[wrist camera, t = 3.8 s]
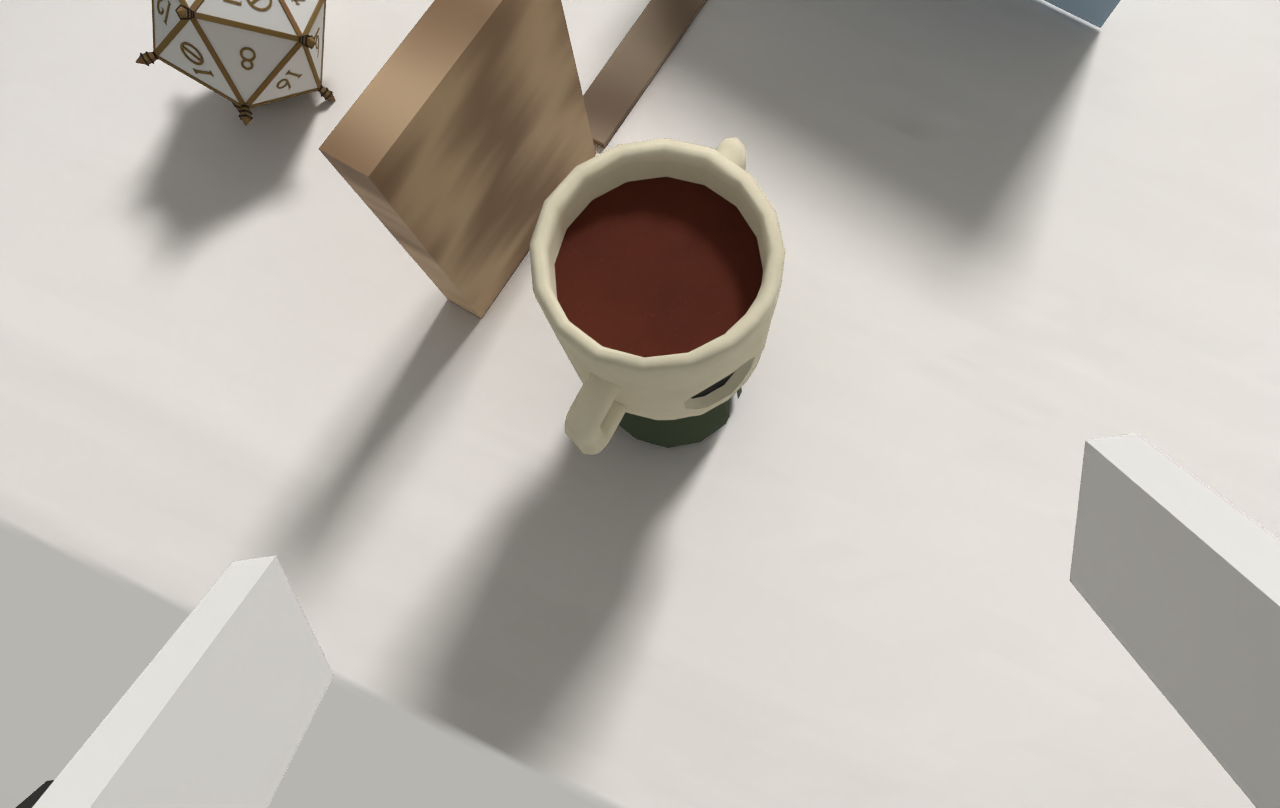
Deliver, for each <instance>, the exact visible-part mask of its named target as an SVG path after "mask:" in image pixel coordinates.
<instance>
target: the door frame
mask: <svg viewBox="0 0 1280 808" xmlns="http://www.w3.org/2000/svg"><path fill="white" fill-rule="evenodd" d="M706 1H707V0H651V1H650V3H649V4H648V5H647V7H646V8H645V10H644V11H643V12H642V14H641V15H640V17H639V18H638V19H637V21H636V22H635V24H634V25H633V26H632V28H631V29H630V31H629V32H628V33H627V35H626V36H625V38H624V39H623V40H622V42H621V43H620V45H619V46H618V48H617V49H616V50H615V52H614V53H613V55H612V56H611V57H610V59H609V60H608V62H607V63H606V64H605V66H604V67H603V69H602V70H601V71H600V73H599V74H598V76H597V77H596V78H595V80H594V81H593V83H592V84H591V85H590V87H589V88H588V90H587V91H586V92H585V94H584V95H583V94H582V90H581V86H580V81H579V77H578V73H577V68H576V64H575V59H574V55H573V51H572V46H571V42H570V38H569V33H568V29H567V24H566V20H565V16H564V11H563V7H562V2H561V0H435V1H434V2H433V3H432V4H431V6H430V7H429V8H428V10H427V11H426V12H425V13H424V15H423V16H422V17H421V19H420V20H419V21H418V22H417V24H416V25H415V26H414V27H413V29H412V30H411V31H410V33H409V34H408V35H407V36H406V38H405V39H404V40H403V42H402V43H401V44H400V45H399V47H398V48H397V49H396V51H395V52H394V53H393V54H392V56H391V57H390V58H389V59H388V61H387V62H386V63H385V65H384V66H383V67H382V68H381V70H380V71H379V72H378V74H377V75H376V76H375V77H374V79H373V80H372V81H371V82H370V84H369V85H368V86H367V88H366V89H365V90H364V91H363V93H362V94H361V95H360V97H359V98H358V99H357V100H356V102H355V103H354V104H353V105H352V107H351V108H350V109H349V111H348V112H347V113H346V114H345V116H344V117H343V118H342V120H341V121H340V122H339V123H338V125H337V126H336V127H335V128H334V130H333V131H332V132H331V134H330V135H329V136H328V137H327V139H326V140H325V141H324V143H323V144H322V145H321V146H320V148H319V150H320V151H321V152H322V153H323V155H324V156H325V157H326V158H327V159H328V160H329V162H330V163H331V164H332V165H333V166H334V167H335V169H336V170H337V171H338V172H339V173H340V174H341V176H342V177H343V178H344V179H345V180H346V181H347V183H348V184H349V185H350V186H351V187H352V188H353V190H354V191H355V192H356V193H357V194H358V195H359V197H360V198H361V199H362V200H363V201H364V202H365V203H366V205H367V206H368V207H369V208H370V209H371V210H372V212H373V213H374V214H375V215H376V216H377V217H378V219H379V220H380V221H381V222H382V223H383V224H384V226H385V227H386V228H387V229H388V230H389V231H390V233H391V234H392V235H393V236H394V237H395V238H396V240H397V241H398V242H399V243H400V244H401V245H402V246H403V248H404V249H405V250H406V251H407V252H408V253H409V255H410V256H411V257H412V258H413V259H414V260H415V262H416V263H417V264H418V265H419V266H420V267H421V269H422V270H423V271H424V272H425V273H426V274H427V276H428V277H429V278H430V279H431V280H432V281H433V283H434V284H435V285H436V286H437V287H438V288H439V290H440V291H441V292H442V293H443V294H444V295H445V296H446V298H447V299H449V300H450V301H452V302H454V303H456V304H457V305H459V306H461V307H462V308H464V309H466V310H467V311H469V312H471V313H473V314H474V315H476V316H478V317H479V318H481V319H482V317H483V316H484V314H485V313H486V311H487V310H488V309H489V307H490V306H491V304H492V303H493V301H494V300H495V298H496V297H497V296H498V294H499V293H500V291H501V290H502V288H503V287H504V286H505V284H506V283H507V281H508V280H509V278H510V277H511V275H512V274H513V273H514V271H515V270H516V268H517V267H518V265H519V264H520V262H521V261H522V260H523V258H524V257H525V255H526V254H527V252H528V251H529V250H530V245H529V244H530V241H531V238H532V235H533V232H534V229H535V227H536V224H537V221H538V218H539V215H540V212H541V209H542V207H543V204H544V201H545V200H546V199H547V198H548V196H549V195H550V194H551V193H552V192H553V191H554V190H555V189H556V188H557V187H558V185H559V184H560V183H561V182H562V181H563V180H564V179H565V178H566V177H567V176H568V175H569V173H570V172H571V171H572V170H573V169H574V168H575V167H576V166H578V165H580V164H582V163H583V162H585V161H587V160H589V159H591V158H593V157H594V156H595V154H596V151H595V147H594V143H593V142H595V143H597V144H599V145H601V146H603V147H606V145H607V144H608V142H609V141H610V140H611V138H612V137H613V135H614V134H615V132H616V131H617V129H618V128H619V127H620V125H621V124H622V122H623V121H624V119H625V118H626V116H627V115H628V114H629V112H630V111H631V109H632V108H633V106H634V105H635V103H636V102H637V101H638V99H639V98H640V96H641V95H642V93H643V92H644V90H645V89H646V88H647V86H648V85H649V83H650V82H651V80H652V79H653V77H654V76H655V75H656V73H657V72H658V70H659V69H660V67H661V66H662V64H663V63H664V62H665V60H666V59H667V57H668V56H669V54H670V53H671V51H672V50H673V49H674V47H675V46H676V44H677V43H678V41H679V40H680V39H681V37H682V36H683V34H684V33H685V31H686V30H687V28H688V27H689V26H690V24H691V23H692V21H693V20H694V18H695V17H696V15H697V14H698V13H699V11H700V10H701V8H702V7H703V5H704V4H705V2H706Z"/></svg>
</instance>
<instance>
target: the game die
mask: <svg viewBox="0 0 1280 808" xmlns="http://www.w3.org/2000/svg"><path fill="white" fill-rule="evenodd" d="M325 9H326V0H152V20H153V48H154V51H153V52H145V53H144V54H142V53H140V56H139V58H138V59H137V61H136V63H141V64H146V65H148V66H149V64H151V63H153V64H154V61H156V60H157V59H159V60H161V61H163V62H164V63H166V64H168V65H170V66H171V67H173V68H175V69H176V70H178V71H180V72H182V73H183V74H185V75H187V76H189V77H190V78H192V79H194V80H195V81H197V82H199V83H201V84H202V85H204V86H206V87H207V88H209V89H211V90H213V91H214V92H216V93H218V94H219V95H221V96H223V97H225V98H226V99H228V100H230V101H232V103H233V105H234V106H235V107H236V108H237V110H239V109H241V110H239V112H240V115H239V117H240V119H241V120H242V121H243V122H244V124H245V126H246V125H247V124H248V123H249V121H250V120H252V119H253V118H252V117H251V114H252V112H250V109H249V108H253V107H256V106H260V105H264V104H268V103H272V102H275V101H279V100H283V99H287V98H290V97H294V96H298V95H302V94H306V93H309V92H313V91H319V92H320V94H321V96H323V97H324V98H325V100H333V101H335V98H334V96H333V94H332V91H329V90H328V88H325V87H323V86H322V69H323V49H324V29H325Z"/></svg>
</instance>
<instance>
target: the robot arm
mask: <svg viewBox="0 0 1280 808" xmlns="http://www.w3.org/2000/svg"><path fill="white" fill-rule="evenodd" d="M1070 582H1071V583H1072V584H1073V586H1074V587H1075V588H1076V589H1077V590H1078V592H1079V593H1080V594H1081V595H1082V596H1083V598H1084V599H1085V600H1086V601H1087V603H1088V604H1089V605H1090V606H1091V607H1092V609H1093V610H1094V611H1095V612H1096V613H1097V615H1098V616H1099V617H1100V618H1101V620H1102V621H1103V622H1104V623H1105V624H1106V626H1107V627H1108V628H1109V629H1110V630H1111V632H1112V633H1113V634H1114V635H1115V637H1116V638H1117V639H1118V640H1119V641H1120V643H1121V644H1122V645H1123V646H1124V647H1125V649H1126V650H1127V651H1128V652H1129V654H1130V655H1131V656H1132V657H1133V658H1134V660H1135V661H1136V662H1137V663H1138V664H1139V666H1140V667H1141V668H1142V669H1143V671H1144V672H1145V673H1146V674H1147V675H1148V677H1149V678H1150V679H1151V680H1152V681H1153V683H1154V684H1155V685H1156V686H1157V688H1158V689H1159V690H1160V691H1161V692H1162V694H1163V695H1164V696H1165V697H1166V698H1167V700H1168V701H1169V702H1170V703H1171V705H1172V706H1173V707H1174V708H1175V709H1176V711H1177V712H1178V713H1179V714H1180V716H1181V717H1182V718H1183V719H1184V720H1185V722H1186V723H1187V724H1188V725H1189V726H1190V728H1191V729H1192V730H1193V731H1194V733H1195V734H1196V735H1197V736H1198V737H1199V739H1200V740H1201V741H1202V742H1203V743H1204V745H1205V746H1206V747H1207V748H1208V750H1209V751H1210V752H1211V753H1212V754H1213V756H1214V757H1215V758H1216V759H1217V760H1218V762H1219V763H1220V764H1221V765H1222V767H1223V768H1224V769H1225V770H1226V771H1227V773H1228V774H1229V775H1230V776H1231V777H1232V779H1233V780H1234V781H1235V782H1236V784H1237V785H1238V786H1239V787H1240V788H1241V790H1242V791H1243V792H1244V793H1245V794H1246V796H1247V797H1248V798H1249V799H1250V801H1251V802H1252V803H1253V804H1254V805H1255V807H1256V808H1280V540H1279V539H1278V538H1276V537H1275V536H1274V535H1272V534H1271V533H1270V532H1268V531H1267V530H1266V529H1264V528H1263V527H1262V526H1260V525H1259V524H1258V523H1256V522H1255V521H1254V520H1252V519H1251V518H1250V517H1248V516H1247V515H1246V514H1244V513H1243V512H1242V511H1240V510H1239V509H1238V508H1236V507H1235V506H1234V505H1232V504H1231V503H1230V502H1228V501H1227V500H1226V499H1224V498H1223V497H1222V496H1220V495H1219V494H1218V493H1216V492H1215V491H1214V490H1212V489H1211V488H1210V487H1208V486H1207V485H1206V484H1204V483H1203V482H1202V481H1200V480H1199V479H1198V478H1196V477H1195V476H1194V475H1192V474H1191V473H1190V472H1188V471H1187V470H1186V469H1184V468H1183V467H1182V466H1181V465H1179V464H1178V463H1177V462H1175V461H1174V460H1173V459H1171V458H1170V457H1169V456H1167V455H1166V454H1165V453H1163V452H1162V451H1161V450H1159V449H1158V448H1157V447H1155V446H1154V445H1153V444H1151V443H1150V442H1149V441H1147V440H1146V439H1145V438H1143V437H1142V436H1141V435H1139V434H1138V433H1133V434H1126V435H1119V436H1112V437H1105V438H1098V439H1091V440H1085V449H1084V458H1083V467H1082V475H1081V484H1080V493H1079V502H1078V511H1077V520H1076V529H1075V537H1074V546H1073V555H1072V564H1071V573H1070ZM333 676H334V674H333V672H332V670H331V668H330V666H329V664H328V662H327V660H326V658H325V655H324V653H323V651H322V649H321V647H320V645H319V643H318V641H317V639H316V637H315V635H314V633H313V631H312V628H311V626H310V624H309V622H308V620H307V618H306V616H305V614H304V612H303V610H302V608H301V606H300V604H299V602H298V599H297V597H296V595H295V593H294V591H293V589H292V587H291V585H290V583H289V581H288V579H287V577H286V575H285V572H284V570H283V568H282V566H281V564H280V562H279V560H278V558H277V556H276V555H275V556H268V557H261V558H254V559H247V560H240V561H233V562H232V563H231V565H230V566H229V567H228V568H227V569H226V571H225V572H224V573H223V574H222V576H221V577H220V578H219V579H218V581H217V582H216V583H215V584H214V585H213V587H212V588H211V589H210V590H209V592H208V593H207V594H206V595H205V596H204V598H203V599H202V600H201V601H200V603H199V604H198V605H197V606H196V607H195V609H194V610H193V611H192V612H191V614H190V615H189V616H188V617H187V619H186V620H185V621H184V622H183V623H182V625H181V626H180V627H179V628H178V630H177V631H176V632H175V633H174V635H173V636H172V637H171V638H170V639H169V641H168V642H167V643H166V644H165V646H164V647H163V648H162V649H161V650H160V652H159V653H158V654H157V655H156V656H155V658H154V659H153V660H152V662H151V663H150V664H149V665H148V666H147V668H146V669H145V670H144V671H143V673H142V674H141V675H140V676H139V677H138V679H137V680H136V681H135V682H134V683H133V685H132V686H131V687H130V688H129V690H128V691H127V692H126V694H124V696H123V697H122V698H121V699H120V701H119V702H118V703H117V704H116V706H115V707H114V708H113V709H112V710H111V712H110V713H109V714H108V715H107V717H106V718H105V719H104V720H103V721H102V723H101V724H100V725H99V726H98V728H97V729H96V730H95V731H94V732H93V734H92V735H91V736H90V737H89V739H88V740H87V741H86V742H85V743H84V745H83V746H82V747H81V748H80V750H79V751H78V752H77V753H76V755H75V756H74V757H73V758H72V759H71V761H70V762H69V763H68V764H67V766H66V767H65V768H64V769H63V771H62V772H61V773H60V774H59V775H58V777H57V778H56V779H55V780H51V781H46V782H45V783H44V784H43V785H42V786H40V787H39V788H38V789H37V790H36V791H35V792H33V793H32V794H31V795H30V796H29V797H28V798H26V799H25V800H24V801H23V802H22V803H21V804H19V805H18V806H17V807H16V808H267V807H268V806H269V804H270V801H271V800H272V798H273V796H274V794H275V792H276V790H277V788H278V786H279V784H280V782H281V780H282V778H283V776H284V774H285V772H286V770H287V768H288V766H289V764H290V762H291V760H292V758H293V756H294V754H295V752H296V750H297V748H298V746H299V744H300V742H301V740H302V738H303V735H304V734H305V732H306V730H307V728H308V726H309V724H310V722H311V720H312V718H313V716H314V714H315V712H316V710H317V708H318V706H319V704H320V702H321V700H322V698H323V695H324V694H325V692H326V690H327V688H328V686H329V684H330V682H331V680H332V678H333Z"/></svg>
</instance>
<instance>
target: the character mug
mask: <svg viewBox="0 0 1280 808" xmlns="http://www.w3.org/2000/svg"><path fill="white" fill-rule="evenodd" d="M745 167H746V149H745V146H744V145H743V144H742V143H741V142H740V140H739V139H738V138H737V137H734V138H726V139H724V140H723V141H722V142H721V143H720V145H719V146H718V147H717V148H716V149H715V150H714V149H713V148H710V147H705V146H700V145H696V144H691V143H686V142H681V141H677V140H672V139H667V138H664V139H656V140H649V141H642V142H634V143H627V144H620V145H617V146H615V147H613V148H611V149H609V150H607V151H605V152H603V153H601V154H599V155H597V156H595V157H593V158H591V159H589V160H587V161H585V162H583V163H582V164H580V165H578V166H576V167H575V168H574V169H573V170H572V171H571V172H570V173H569V175H568V176H567V177H566V178H565V179H564V180H563V181H562V182H561V183H560V184H559V185H558V187H557V188H556V189H555V190H554V191H553V192H552V193H551V194H550V195H549V196H548V198H547V199H546V200H545V201H544V204H543V207H542V209H541V212H540V215H539V218H538V221H537V224H536V227H535V229H534V232H533V235H532V238H531V241H530V244H529V245H530V257H531V270H532V283H533V291H534V294H535V297H536V299H537V301H538V303H539V305H540V307H541V309H542V310H543V312H544V314H545V316H546V318H547V320H548V321H549V323H550V325H551V327H552V329H553V331H554V333H555V334H556V336H557V338H558V340H559V342H560V343H561V345H562V347H563V349H564V351H565V352H566V354H567V356H568V358H569V360H570V361H571V363H572V365H573V367H574V369H575V370H576V372H577V374H578V376H579V378H580V379H581V381H582V383H583V386H582V388H581V389H580V391H579V393H578V395H577V397H576V398H575V400H574V402H573V404H572V405H571V407H570V410H569V412H568V414H567V416H566V422H565V433H566V434H567V435H568V436H569V438H570V439H571V440H572V441H573V442H574V444H575V445H576V446H577V447H578V448H579V449H580V451H581V452H582V453H583V454H593V455H595V454H598V453H600V452H601V451H602V450H603V449H604V448H605V447H606V446H607V444H608V443H609V441H610V440H611V438H612V436H613V434H614V432H615V430H616V429H617V427H618V425H620V426H622V427H623V428H624V429H625V430H626V431H628V432H629V433H630V434H631V435H632V436H634V437H635V438H636V439H639V440H643V441H646V442H650V443H653V444H657V445H660V446H664V447H667V448H669V447H675V446H680V445H685V444H690V443H695V442H700V441H702V440H703V439H705V438H706V437H707V436H709V435H710V434H712V433H713V432H715V431H716V430H717V429H719V428H720V427H722V426H723V425H724V424H726V422H727V420H728V418H729V406H728V400H729V399H730V398H731V397H732V396H733V395H734V394H735V393H736V392H737V395H738V398H739V396H740V394H741V392H742V390H741V387H742V386H743V385H744V384H745V383H746V381H747V380H748V379H749V377H750V375H751V374H752V372H753V371H754V369H755V368H756V366H757V364H758V361H759V359H760V356H761V353H762V351H763V349H764V347H765V343H766V338H767V335H768V331H769V327H770V323H771V320H772V316H773V313H774V310H775V306H776V303H777V299H778V296H779V292H780V287H781V282H782V274H783V266H784V258H785V249H784V244H783V240H782V236H781V231H780V227H779V222H778V218H777V214H776V211H775V209H774V208H773V206H772V205H771V203H770V202H769V200H768V199H767V198H766V196H765V195H764V193H763V192H762V190H761V189H760V187H759V186H758V185H757V183H756V182H755V180H754V179H753V177H752V176H751V174H749V173H748V172H746V171H745Z"/></svg>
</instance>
